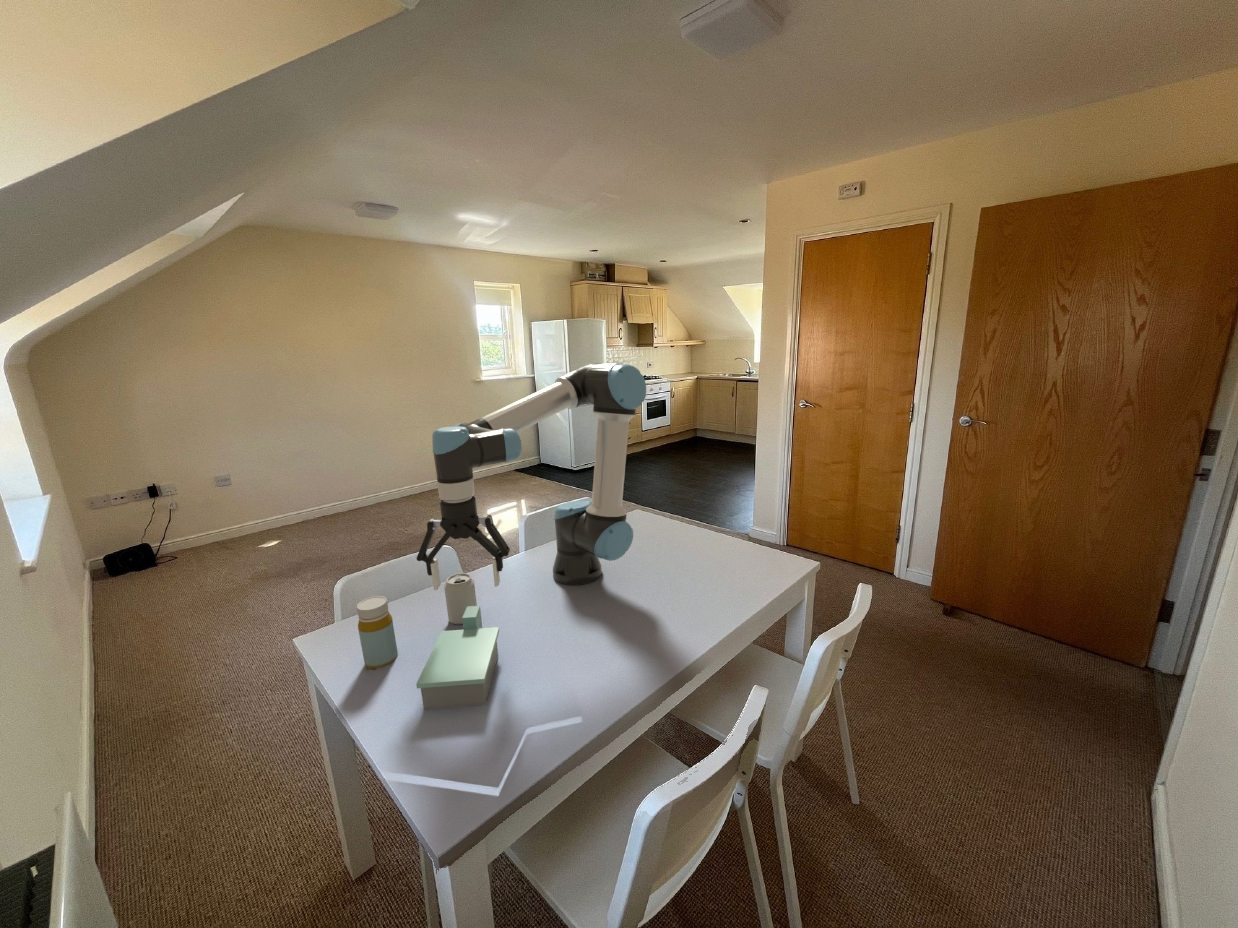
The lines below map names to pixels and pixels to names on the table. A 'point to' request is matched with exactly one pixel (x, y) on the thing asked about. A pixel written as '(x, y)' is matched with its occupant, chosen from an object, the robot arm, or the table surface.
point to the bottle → (376, 632)
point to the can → (459, 596)
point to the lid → (461, 654)
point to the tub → (459, 692)
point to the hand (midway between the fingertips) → (467, 585)
